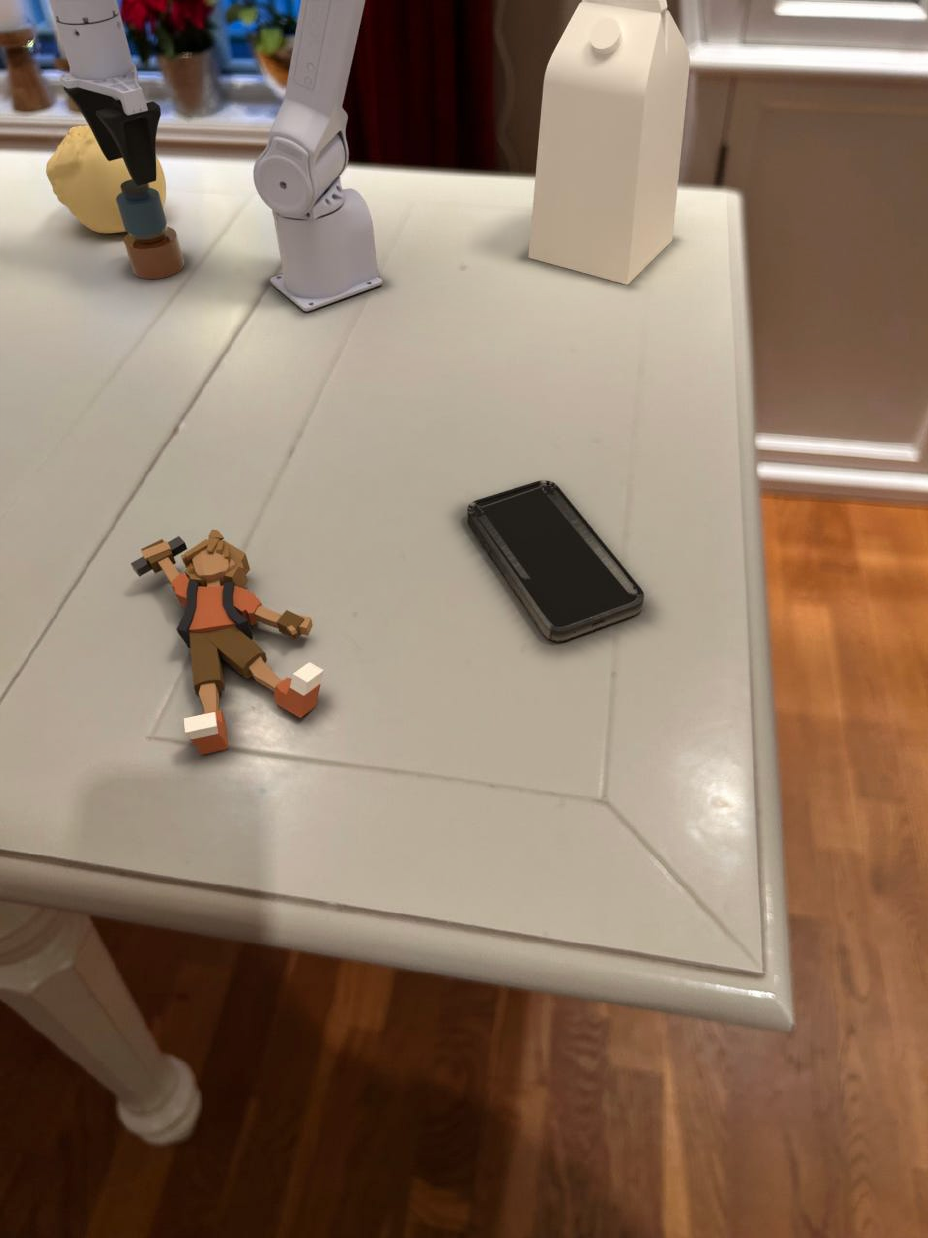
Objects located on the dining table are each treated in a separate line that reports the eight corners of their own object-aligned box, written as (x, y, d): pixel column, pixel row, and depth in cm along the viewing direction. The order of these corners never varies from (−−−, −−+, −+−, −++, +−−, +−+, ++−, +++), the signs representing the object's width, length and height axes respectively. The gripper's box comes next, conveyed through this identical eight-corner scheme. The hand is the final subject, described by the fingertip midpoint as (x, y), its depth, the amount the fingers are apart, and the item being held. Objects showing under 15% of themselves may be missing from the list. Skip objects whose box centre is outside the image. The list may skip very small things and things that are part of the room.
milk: (672, 240, 103) (714, -39, 83) (627, 284, 96) (661, -6, 77) (577, 216, 107) (596, -54, 88) (528, 257, 101) (537, -24, 81)
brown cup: (171, 249, 104) (161, 209, 100) (192, 268, 101) (182, 227, 97) (124, 264, 101) (112, 223, 98) (144, 284, 98) (132, 242, 95)
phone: (550, 476, 73) (650, 599, 64) (549, 487, 74) (648, 610, 65) (461, 504, 71) (551, 635, 62) (461, 515, 72) (550, 646, 63)
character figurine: (130, 742, 55) (119, 522, 65) (152, 778, 59) (139, 566, 69) (329, 700, 56) (288, 492, 66) (337, 738, 60) (297, 537, 71)
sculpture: (94, 199, 113) (64, 104, 105) (187, 203, 112) (164, 107, 104) (54, 242, 105) (18, 143, 97) (153, 247, 104) (125, 147, 96)
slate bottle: (157, 213, 100) (145, 171, 96) (173, 227, 97) (162, 185, 94) (118, 224, 98) (105, 182, 95) (134, 239, 95) (121, 196, 92)
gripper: (18, 5, 86) (68, 157, 96) (72, 43, 78) (120, 204, 88) (91, -9, 88) (132, 140, 98) (150, 27, 80) (188, 185, 90)
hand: (131, 169), depth 93 cm, fingers open, 7 cm apart
